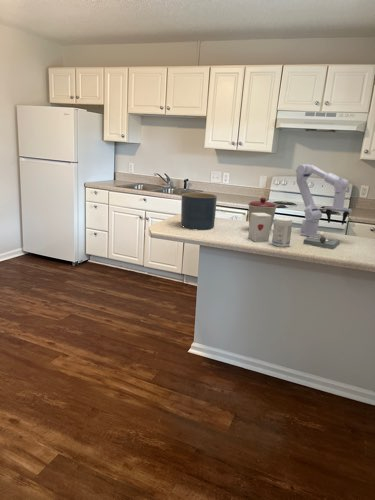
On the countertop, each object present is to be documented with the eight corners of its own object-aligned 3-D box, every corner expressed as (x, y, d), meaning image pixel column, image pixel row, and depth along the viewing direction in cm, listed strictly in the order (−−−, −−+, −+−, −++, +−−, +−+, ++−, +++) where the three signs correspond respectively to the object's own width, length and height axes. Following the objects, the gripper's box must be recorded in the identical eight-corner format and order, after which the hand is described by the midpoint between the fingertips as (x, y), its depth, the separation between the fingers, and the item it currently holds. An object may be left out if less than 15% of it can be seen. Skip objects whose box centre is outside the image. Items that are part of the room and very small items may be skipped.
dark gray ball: (318, 242, 202) (319, 236, 201) (320, 241, 205) (321, 235, 204) (324, 243, 200) (325, 237, 199) (326, 242, 203) (327, 236, 202)
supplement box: (254, 241, 207) (257, 215, 203) (247, 237, 215) (250, 212, 211) (269, 241, 209) (272, 215, 205) (262, 237, 217) (264, 212, 213)
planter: (175, 223, 243) (176, 192, 238) (204, 222, 253) (206, 192, 247) (189, 231, 224) (190, 198, 219) (220, 229, 233) (223, 197, 228)
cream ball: (317, 237, 214) (318, 231, 214) (319, 236, 217) (320, 230, 216) (323, 237, 213) (324, 232, 212) (324, 237, 215) (325, 231, 214)
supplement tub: (284, 242, 209) (287, 216, 205) (292, 247, 200) (296, 220, 196) (268, 242, 206) (271, 216, 202) (276, 247, 197) (279, 220, 193)
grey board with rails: (303, 243, 208) (303, 238, 207) (310, 238, 220) (311, 233, 219) (332, 249, 199) (333, 243, 198) (339, 243, 211) (339, 238, 210)
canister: (272, 228, 243) (276, 196, 237) (276, 234, 226) (280, 200, 220) (244, 226, 245) (247, 194, 239) (246, 232, 227) (249, 198, 222)
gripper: (324, 199, 212) (321, 222, 216) (351, 202, 204) (347, 226, 208) (327, 198, 218) (324, 221, 221) (353, 201, 210) (349, 224, 214)
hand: (335, 223), depth 215 cm, fingers open, 7 cm apart
